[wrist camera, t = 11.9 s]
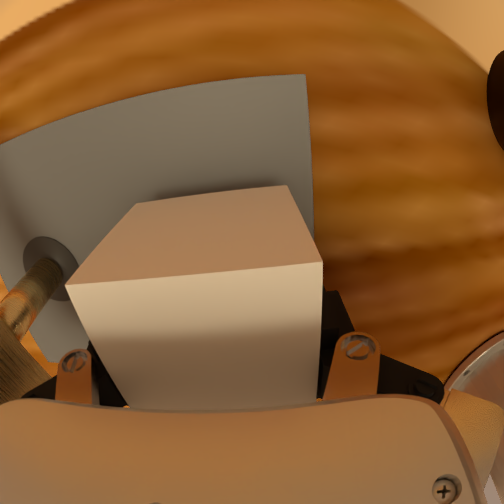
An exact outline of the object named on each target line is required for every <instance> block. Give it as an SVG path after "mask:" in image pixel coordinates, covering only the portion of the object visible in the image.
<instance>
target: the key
mask: <svg viewBox="0 0 504 504" xmlns="http://www.w3.org/2000/svg"><path fill="white" fill-rule="evenodd" d="M62 279H63V277H62V272H61V270H60V268H59V267H58V265H57V264H56V263H55V262H54V261H52V260H51V259H48V258H41V259H39V260H38V261H37V262H36V263H35V264H34V265H33V266H32V267H31V268H30V269H29V271H28V272H27V273H26V274H25V275H24V276H23V277H22V278H21V279H20V280H19V282H18V283H17V284H16V285H15V286H14V287H13V288H12V289H11V291H10V292H9V293H8V294H7V295H6V296H5V298H4V299H3V300H2V301H1V302H0V405H1V404H3V403H6V402H8V401H12V400H16V399H20V398H21V397H22V396H23V395H24V394H25V393H27V392H28V391H30V390H32V389H33V388H35V387H37V386H39V385H40V384H42V383H44V382H46V381H47V380H49V379H51V378H52V377H51V376H50V375H49V374H48V373H47V372H46V371H45V370H44V369H43V368H42V367H41V366H40V365H39V364H38V362H37V361H36V360H35V359H34V358H33V357H32V356H31V355H30V354H29V353H28V351H27V350H26V349H25V348H24V347H23V346H22V345H21V343H20V342H21V340H22V338H23V337H24V335H25V334H26V332H27V331H28V329H29V328H30V326H31V325H32V323H33V322H34V320H35V319H36V318H37V316H38V315H39V313H40V312H41V310H42V309H43V308H44V306H45V305H46V303H47V302H48V301H49V299H50V298H51V296H52V295H53V294H54V292H55V291H56V290H57V288H58V287H59V286H60V284H61V283H62Z"/></svg>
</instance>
